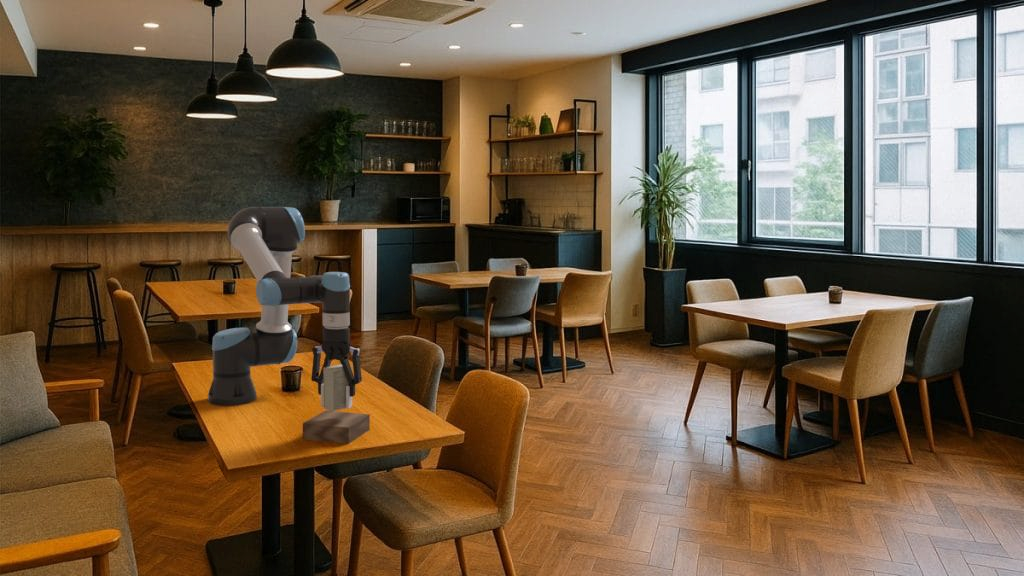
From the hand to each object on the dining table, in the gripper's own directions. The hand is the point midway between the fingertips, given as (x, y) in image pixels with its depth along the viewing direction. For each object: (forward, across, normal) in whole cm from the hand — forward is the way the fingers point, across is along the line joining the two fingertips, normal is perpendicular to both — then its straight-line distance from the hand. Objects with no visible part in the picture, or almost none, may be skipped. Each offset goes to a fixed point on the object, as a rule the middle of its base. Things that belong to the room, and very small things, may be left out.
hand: (336, 406), depth 230 cm
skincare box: (+1, 0, 0) cm, 1 cm away
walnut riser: (+9, 0, 0) cm, 9 cm away
